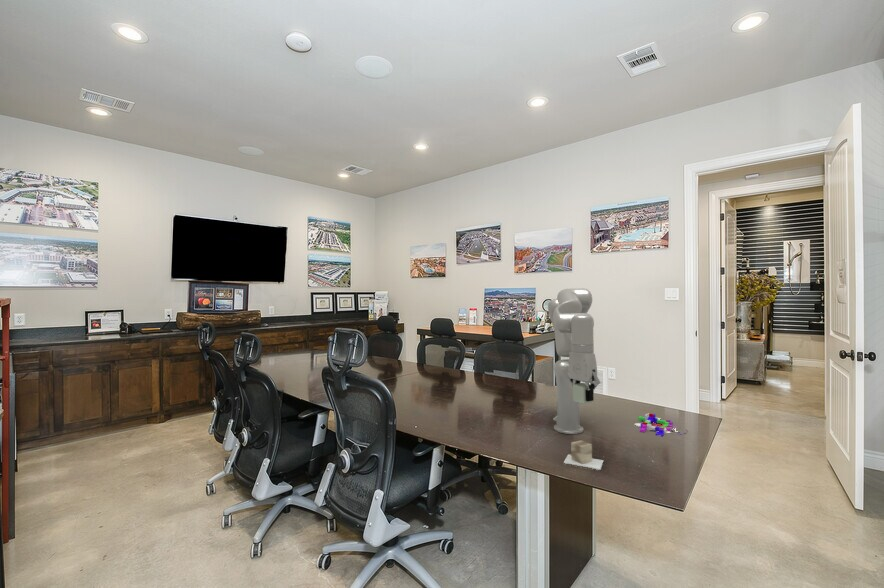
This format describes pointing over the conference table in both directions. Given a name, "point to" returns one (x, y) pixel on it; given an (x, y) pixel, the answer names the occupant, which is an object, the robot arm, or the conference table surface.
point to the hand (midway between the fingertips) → (583, 398)
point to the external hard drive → (593, 464)
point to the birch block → (581, 452)
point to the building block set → (649, 422)
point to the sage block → (580, 393)
